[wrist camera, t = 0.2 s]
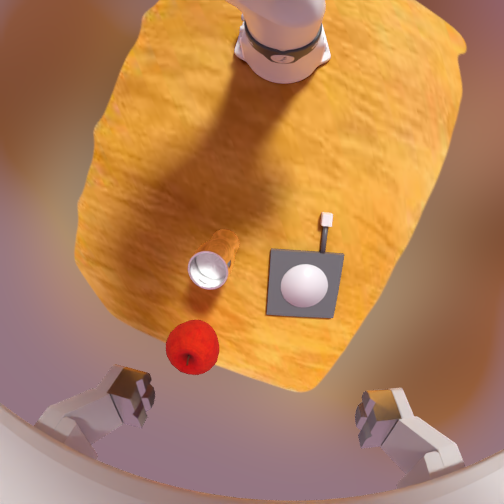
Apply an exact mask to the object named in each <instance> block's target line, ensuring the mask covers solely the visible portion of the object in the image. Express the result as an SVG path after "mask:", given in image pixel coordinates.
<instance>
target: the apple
mask: <svg viewBox="0 0 504 504" xmlns="http://www.w3.org/2000/svg"><path fill="white" fill-rule="evenodd" d="M166 354H167V357H168V358H169V360H170V362H171V364H172V365H173V366H174V367H175V368H177V369H178V370H179V371H180V372H183V373H186V374H192V375H199V374H203V373H205V372H207V371H208V370H210V369H211V368H212V367H213V366H214V365H215V363H216V362H217V358H218V354H219V343H218V338H217V335H216V333H215V331H214V330H213V328H212V327H211V326H210V325H209V324H207V323H206V322H204V321H201V320H190V321H187V322H185V323H183V324H180V325H178V326H177V327H176V328H175V329H174V330H173V331H172V332H171V333H170V334H169V337H168V339H167V342H166Z"/></svg>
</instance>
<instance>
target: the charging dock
mask: <svg viewBox="0 0 504 504" xmlns="http://www.w3.org/2000/svg"><path fill="white" fill-rule="evenodd" d="M332 219H333V214H332V213H325V212H322V214H321V226H323V232H322V241H321V250H320V252H315V251H301V250H286V249H271V260H270V275H269V289H268V303H267V315H281V316H298V317H319V318H333V316H334V311H335V306H336V300H337V295H338V290H339V284H340V278H341V272H342V266H343V260H344V254H343V253H329V252H325V249H326V241H327V232H328V226H329V227H332Z"/></svg>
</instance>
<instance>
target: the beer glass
mask: <svg viewBox="0 0 504 504" xmlns="http://www.w3.org/2000/svg"><path fill="white" fill-rule="evenodd" d="M239 246H240V242H239V238H238V236H237V235H236V234H235V233H234V232H233V231H231V230H228V229H221V230H218V231H216V232H215V233H214V234H213V235H212V237H211V239H210V240H208V241H206V242H204V243H203V244H202V245H201V246H200V247H199V248H198V249H197V250H196V251H195V253H194V254H193V256H192V258H191V259H190V261H189V264H188V273H189V276H190V278H191V280H192V281H193V282H194V283H195V284H196V285H197V286H199V287H201V288H203V289H208V290H212V289H217V288H219V287H221V286H222V285H223V284H224V283H225V282H226V280H227V278H228V277H229V275H230V273H231V271H232V269H233V266H234V262H235V254H236V253H237V251H238V249H239Z"/></svg>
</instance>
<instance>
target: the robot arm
mask: <svg viewBox="0 0 504 504" xmlns="http://www.w3.org/2000/svg"><path fill="white" fill-rule="evenodd" d="M225 1H227V2H228V3H230V4H232V5H233V6H235V7H237V8H238V9H239V10H240V11H241V12H242V17H241V19H242V21H244V22H243V25H242V26H241V27H240V34H239V37H238V40H237V43H236V47H235V50H234V51H235V55H236V56H237V57H239V58H240V59H242V60H244V61H246V62H247V63H248V65H249V66H250V67H251V69H252V70H253V71H254V72H255V73H256V74H257V75H259V76H260V77H262V78H264V79H266V80H268V81H271V82H275V83H284V84H285V83H294V82H298V81H301V80H303V79H305V78H306V77H308V76H309V75H310V74H311V73H312V72H313V71H314V70H315V69H316V68H317V67H318V66H319V65H321V64H323V63H326V62H327V61H329V60H330V57H331V54H330V50H329V47H328V43H327V39H326V35H325V32H324V28H323V25H322V19H323V16H324V13H325V9H326V4H325V0H225ZM240 46H241V48H240ZM324 51H325V52H324ZM150 382H151V376H150V374H149V373H147V372H143V371H138V370H135V369H132V368H128V367H124V366H120V365H117V364H115V365H113V366H112V367H111V368H110V370H109V371H108V373H107V374H106V375H105V377H104V378H103V379H102V381H101V382H100V383H99V385H98V386H97V388H96V389H94V388H92V389H90V390H87V391H85V392H83V393H80V394H78V395H76V396H73V397H71V398H68V399H66V400H64V401H61V402H59V403H56V404H54V405H51V406H49V407H48V408H47V409H46V411H45V412H44V413H43V414H42V416H41V417H40V418H39V420H38V421H37V422H36V424H35V425H34V426H32V425H31V424H29V423H28V422H26V421H25V420H23V419H22V418H20V417H19V416H18V415H16V414H15V413H13V412H12V411H11V410H9V409H8V408H7V407H5V406H4V405H3V404H1V403H0V504H504V449H503V450H501V451H499V452H497V453H495V454H493V455H491V456H489V457H487V458H485V459H483V460H481V461H478V462H476V463H474V464H472V465H469V466H467V467H465V464H464V462H463V459H462V457H461V454H460V452H459V450H458V447H457V445H456V443H454V442H453V441H451V440H450V439H448V438H447V437H445V436H444V435H442V434H441V433H440V432H438V431H437V430H436V429H434V428H433V427H431V426H430V425H429V424H427V423H426V422H424V421H423V420H422V419H420V418H419V417H414V415H413V413H412V410H411V408H410V406H409V403H408V401H407V398H406V396H405V394H404V391H403V389H402V388H393V389H382V390H370V391H365V392H364V393H363V395H362V401H363V402H362V403H360V404H359V405H358V407H357V409H356V414H355V422H356V427H357V428H359V429H360V430H361V431H360V433H359V435H358V437H359V442H360V446H361V448H370V447H379V446H381V448H382V450H383V451H385V453H386V454H387V455H388V456H389V457H390V458H391V459H392V460H393V461H394V462H395V463H396V464H397V465H398V466H399V467H400V469H402V471H404V472H405V474H406V475H405V476H404V477H403V478H402V479H401V480H400V481H399V482H398V483H397V485H396V486H397V489H395V490H390V491H385V492H380V493H374V494H368V495H362V496H356V497H347V498H338V499H326V500H307V501H306V500H305V501H279V500H278V501H277V500H258V499H246V498H236V497H228V496H221V495H215V494H208V493H203V492H198V491H192V490H188V489H183V488H179V487H175V486H171V485H167V484H164V483H160V482H157V481H153V480H150V479H147V478H143V477H140V476H137V475H134V474H131V473H129V472H126V471H123V470H120V469H118V468H115V467H112V466H110V465H108V464H105V463H103V462H100V461H98V460H96V459H97V457H98V455H97V453H96V451H95V450H94V448H93V447H92V446H91V445H92V444H93V443H95V442H96V441H98V440H99V439H101V438H103V437H104V436H106V435H107V434H109V433H110V432H112V431H113V430H115V429H116V428H118V427H119V426H121V425H122V424H123V423H124V424H128V425H131V426H135V427H139V428H142V427H143V425H144V423H145V421H146V418H147V414H146V411H148V410H150V409H151V408H152V406H153V404H154V399H155V391H154V387H153V386H152V385H151V384H150Z"/></svg>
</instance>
